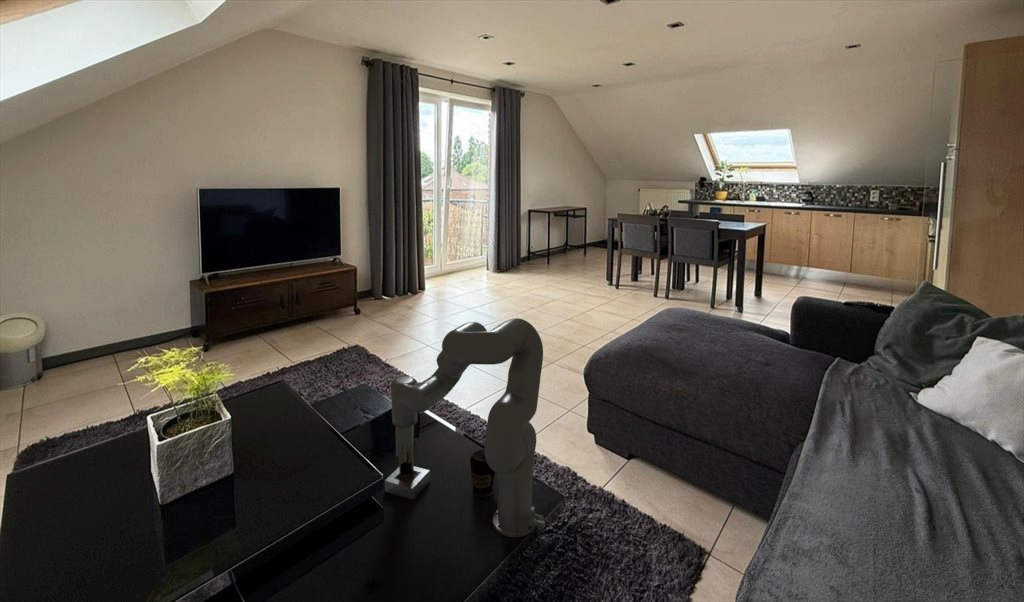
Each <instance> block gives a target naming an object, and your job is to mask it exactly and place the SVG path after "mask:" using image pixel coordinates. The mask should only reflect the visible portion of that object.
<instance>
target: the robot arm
mask: <svg viewBox="0 0 1024 602" xmlns="http://www.w3.org/2000/svg"><path fill="white" fill-rule="evenodd" d="M509 359H511V362H510V365H509V368H508V372H507V383H506V389H505V392H504V393H503V394H502V396H501V397H500V398H499V399H497V401H495V403H493V405H492V406H491V408H490V410H489V412H488V416H487V422H486V431H485V440H484V450H485V459H486V461H487V464H488V465H489V467H490V468H491V469H492V470H493V471H494V472H495V474H496V473H497V474H498V475H497V476H498V487H497V488H498V490H497V491H498V492H497V493H498V494H497V509H496V510H495V512H494V513H493V515H492V526H493V528H494V529H495V531H497V533H498V534H501V536H505V537H509V538H520V537H521V538H522V537H524V536H528V535H529V534H531V533H532V532H533V531H534V530H535V529H536V527H537V528H538V529H542V530H544V529H545V526H546V521H544V515H541V514H537V512H535V506H532V503H533V502H532V501H533V496H532V495H533V477H534V476H533V474H534V473H533V472H534V459H535V453H536V447H537V433H536V429H535V427H534V426H533V424H532V423H531V422H530V421H531V420H532V419H533V418H534V416H535V415H536V413H537V409H538V401H539V392H540V387H541V375H542V370H543V369H542V367H543V360H544V347H543V341H542V339H541V336H540V334H539V332H538V330H537V329H536V328H535V327H534V326H533V324H532V323H530V322H528V321H527V320H525V319H523V318H517V317H516V318H510V319H508V320H505V321H503V322H501V323H500V324H498V325H497V326H495V327H493V328H492V329H490V330H487V329H486V327H485V326H484V325H483V324H481V323H480V322H477V321H469V322H466V323H462V324H461V325H459V326H458V327H456V328H454V329H453V330H451V331H449V332H447V334H446V335H445V336H444V338H443V339H442V344H441V351H440V352H439V354H438V355H437V357H436V365H437V367H438V368H437V369H436V370H435V371H434V372H433V374H432V375H431V376H429V377H428V378H426V379H425V380H423V381H421V382H420V383H417V381H416V379H415V378H414V377H412V376H409V375H402V376H397V377H395V378H393V380H392V381H391V382H390V395H391V396H390V397H391V398H390V399H391V418H392V419H391V420H392V424H393V426H395V456H396V457H397V458H399V456H400V455H401V475H406V474H411V473H412V470H411V462H410V456H411V455H412V450H413V448H414V441H415V440H414V439H415V425H416V424H417V423H418V421H419V420H418V419H419V418H418V413H425V412H427V411H428V410H430V409H431V408H432V407H433V406H435V405H436V404H438V403H439V402H440V401H441V400H443V399H444V398H445V397H446V396H447V395H448V394H450V392H451V391H452V390H453V388H454V387H455V386H456V385H457V384H458V382H459V381H460V380H461V378H462V376H463V374H464V372H465V371H466V370H467V369H468V368H469V366H470V365H499V364H503V363H505V362H506V361H508V360H509ZM402 452H403V453H402ZM407 452H409V453H407ZM407 456H408V459H407Z"/></svg>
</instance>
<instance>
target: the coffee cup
mask: <svg viewBox="0 0 1024 602" xmlns="http://www.w3.org/2000/svg"><path fill="white" fill-rule="evenodd" d="M469 464H470V476H471V484H472V491H473V494H474V495H475V496H476V497H481V498H482V497H483V498H485V497H489V496H491V495H493V493H494V487H493V486H494V481H495V479H496V472H494V471H493V470H492V469H491V468H490V467H489V465H488V464H487V461H486V459H485V449H479V450H477V451H474V452H473V453H472V455H471V456H470V459H469Z"/></svg>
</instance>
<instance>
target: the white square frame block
mask: <svg viewBox="0 0 1024 602" xmlns="http://www.w3.org/2000/svg"><path fill="white" fill-rule="evenodd" d="M430 471H431V470H429V469H425V468H423V467H418V466H415V465H414V476H413V478H411V479H408V480H403V479H401V478H400V470H399V467H397V469H395V470H394V471H393V472H392V473H391V474H390V475H389V476H388V477H387V478H386V479H384V490H385V493H388V494H392V495H395V496H398V497H401V498H405V499H409V500H411V499H412V501H413V500H414V499H415V498H416V497H417V496H418V495H419V494H420V493H421V492H422V491H423V490H424V488H426V487H427V485H428V484H429V483H430V482H431V472H430Z"/></svg>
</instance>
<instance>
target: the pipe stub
mask: <svg viewBox="0 0 1024 602" xmlns="http://www.w3.org/2000/svg"><path fill="white" fill-rule="evenodd" d="M402 453H403V452H402ZM407 453H409V452H407ZM414 454H415V448H414V447H413V450H412V455H411V456H410V462H411V470H412V473H411V474H406V475H401V455H400V456H398V462H399V463H398V464H399V465H398V468H399V470H400V478H401V479H403V480H408V479H411V478H413V476H414V466H415V465H414V463H415V461H414V460H415V459H414ZM407 459H408V456H407Z"/></svg>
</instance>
